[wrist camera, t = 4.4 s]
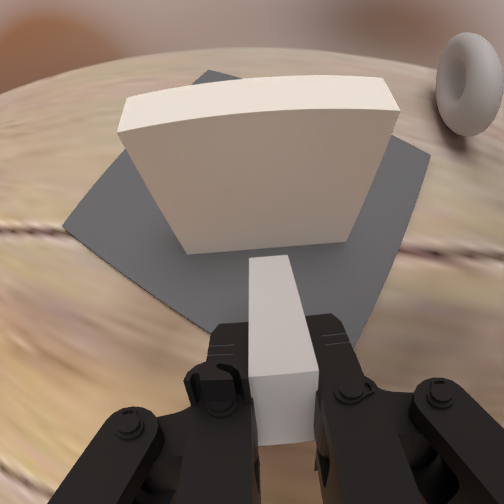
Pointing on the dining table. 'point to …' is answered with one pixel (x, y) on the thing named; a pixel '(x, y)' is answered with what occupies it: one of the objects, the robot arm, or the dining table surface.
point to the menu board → (260, 157)
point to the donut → (469, 84)
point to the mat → (237, 262)
